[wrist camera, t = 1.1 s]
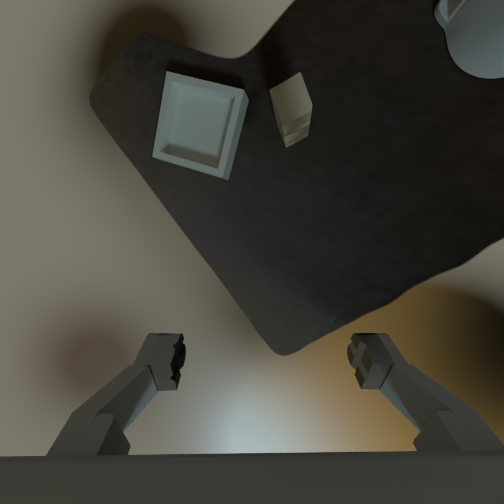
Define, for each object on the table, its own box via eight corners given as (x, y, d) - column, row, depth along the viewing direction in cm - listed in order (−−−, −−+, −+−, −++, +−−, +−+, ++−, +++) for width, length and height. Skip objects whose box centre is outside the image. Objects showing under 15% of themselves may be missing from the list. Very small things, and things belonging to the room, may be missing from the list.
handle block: (299, 113, 38) (300, 72, 26) (307, 136, 38) (312, 105, 27) (277, 125, 39) (269, 90, 27) (285, 147, 39) (281, 121, 28)
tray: (177, 82, 41) (166, 71, 37) (248, 100, 39) (244, 89, 36) (163, 160, 44) (152, 156, 41) (228, 180, 42) (222, 177, 39)
